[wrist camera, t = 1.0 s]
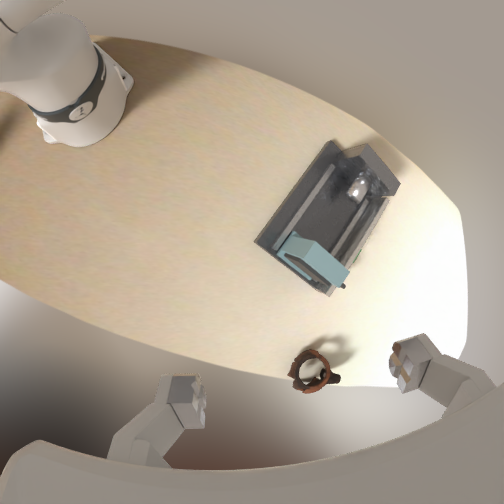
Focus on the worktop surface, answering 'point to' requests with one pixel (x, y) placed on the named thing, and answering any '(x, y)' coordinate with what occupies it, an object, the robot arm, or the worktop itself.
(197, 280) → the worktop surface
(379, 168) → the frame
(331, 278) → the gauge slider
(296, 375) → the brown hollow ring part
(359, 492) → the robot arm
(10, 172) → the worktop surface
